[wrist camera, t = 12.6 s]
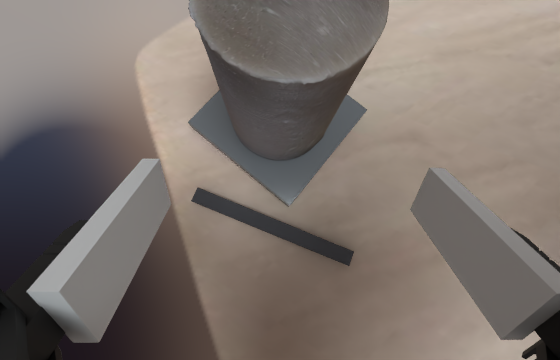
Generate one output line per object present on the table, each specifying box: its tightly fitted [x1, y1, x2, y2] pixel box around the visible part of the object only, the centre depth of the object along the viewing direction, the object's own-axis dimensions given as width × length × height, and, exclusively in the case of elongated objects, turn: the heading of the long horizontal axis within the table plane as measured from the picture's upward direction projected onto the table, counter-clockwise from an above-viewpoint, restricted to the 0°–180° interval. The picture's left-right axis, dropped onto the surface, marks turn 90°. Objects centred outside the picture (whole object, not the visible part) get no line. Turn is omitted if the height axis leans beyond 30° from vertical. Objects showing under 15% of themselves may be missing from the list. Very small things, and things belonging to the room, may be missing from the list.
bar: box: [191, 188, 354, 266], centre depth 24 cm, size 1×16×1 cm, turn 68°
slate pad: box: [188, 90, 367, 207], centre depth 26 cm, size 13×13×1 cm
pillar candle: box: [188, 0, 389, 160], centre depth 18 cm, size 10×10×15 cm
